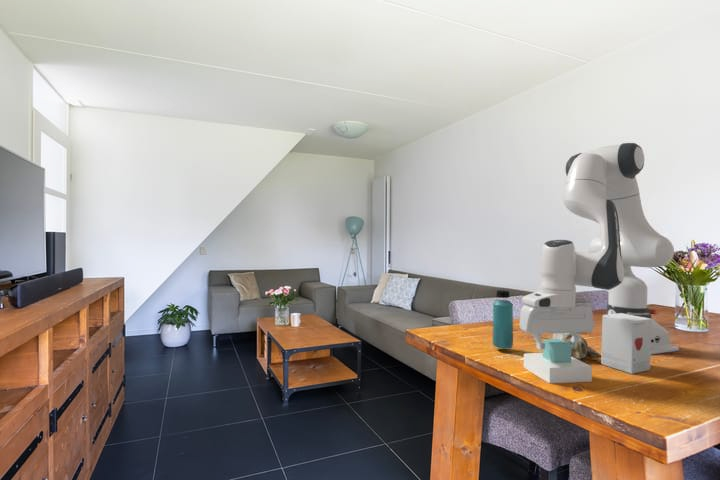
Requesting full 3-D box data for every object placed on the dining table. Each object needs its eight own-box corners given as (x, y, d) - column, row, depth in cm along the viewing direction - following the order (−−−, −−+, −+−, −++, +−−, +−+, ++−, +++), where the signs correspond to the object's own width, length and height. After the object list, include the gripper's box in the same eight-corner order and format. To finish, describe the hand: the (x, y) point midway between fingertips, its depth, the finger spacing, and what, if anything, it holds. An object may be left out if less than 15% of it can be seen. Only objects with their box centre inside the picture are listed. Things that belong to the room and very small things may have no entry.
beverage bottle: (514, 354, 122) (515, 292, 121) (493, 352, 123) (494, 291, 123) (511, 348, 128) (511, 289, 128) (490, 346, 129) (491, 288, 129)
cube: (558, 356, 107) (559, 338, 107) (571, 362, 102) (571, 344, 102) (542, 357, 106) (542, 339, 106) (553, 363, 101) (554, 344, 101)
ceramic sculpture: (568, 323, 127) (608, 337, 113) (566, 348, 128) (606, 365, 114) (542, 325, 125) (579, 340, 110) (540, 351, 125) (578, 369, 111)
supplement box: (632, 374, 104) (633, 320, 104) (600, 364, 113) (601, 314, 112) (651, 370, 108) (652, 318, 108) (619, 360, 116) (620, 312, 116)
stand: (561, 365, 111) (561, 352, 111) (591, 381, 99) (592, 366, 99) (523, 367, 109) (523, 353, 109) (549, 383, 98) (549, 368, 98)
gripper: (583, 296, 109) (582, 344, 109) (516, 297, 106) (516, 346, 106) (600, 300, 102) (599, 350, 102) (529, 301, 100) (529, 353, 100)
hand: (556, 348), depth 104 cm, fingers open, 8 cm apart
